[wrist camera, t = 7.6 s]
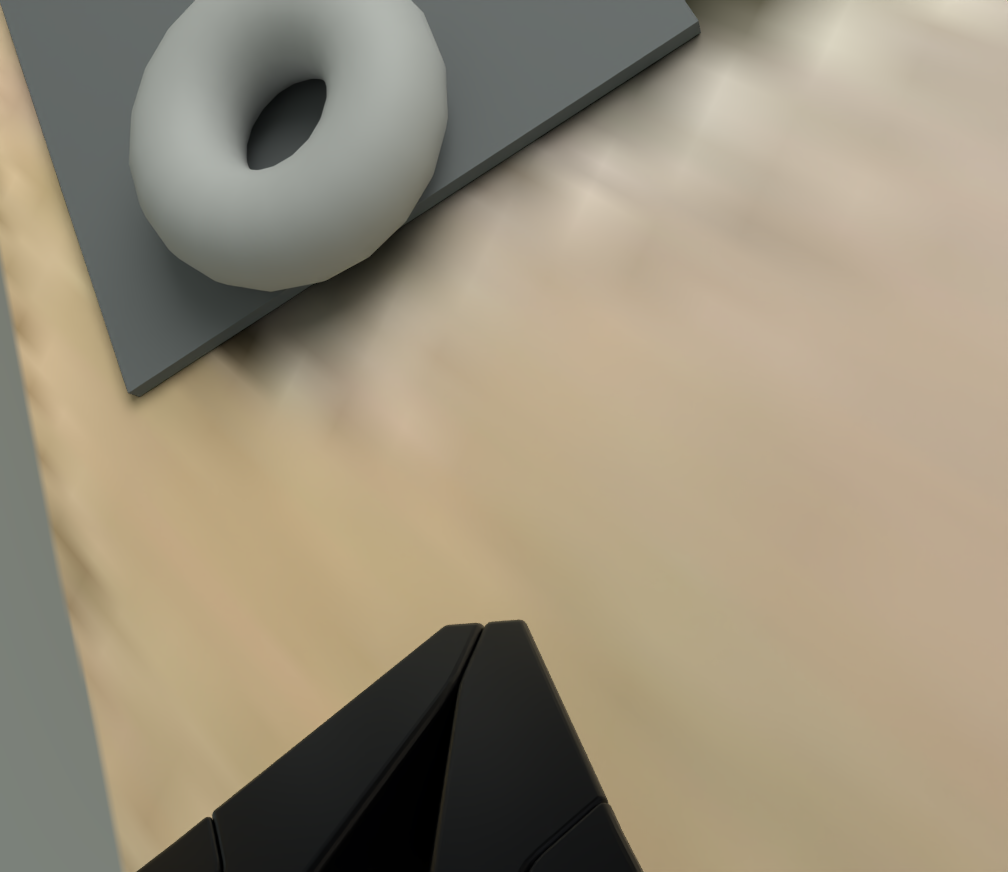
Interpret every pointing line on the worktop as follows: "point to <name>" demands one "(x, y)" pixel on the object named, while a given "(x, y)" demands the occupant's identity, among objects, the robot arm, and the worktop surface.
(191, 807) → the worktop surface
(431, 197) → the mat
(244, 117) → the donut
